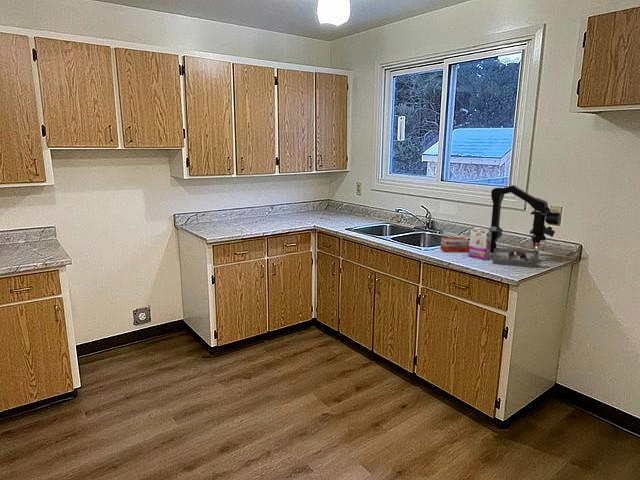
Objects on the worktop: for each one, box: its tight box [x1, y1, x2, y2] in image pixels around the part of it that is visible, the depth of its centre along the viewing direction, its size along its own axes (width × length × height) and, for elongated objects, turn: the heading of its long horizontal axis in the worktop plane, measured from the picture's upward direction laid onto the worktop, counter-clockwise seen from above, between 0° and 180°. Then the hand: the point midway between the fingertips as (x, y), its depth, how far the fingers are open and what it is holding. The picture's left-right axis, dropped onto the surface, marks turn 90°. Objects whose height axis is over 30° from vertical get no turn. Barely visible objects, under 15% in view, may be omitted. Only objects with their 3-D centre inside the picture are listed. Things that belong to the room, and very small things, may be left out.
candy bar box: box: [468, 228, 492, 261], centre depth 246 cm, size 11×5×16 cm, turn 40°
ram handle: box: [531, 242, 541, 261], centre depth 240 cm, size 3×3×10 cm
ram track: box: [529, 255, 541, 264], centre depth 243 cm, size 4×14×1 cm, turn 159°
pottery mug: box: [507, 248, 528, 261], centre depth 242 cm, size 12×10×8 cm
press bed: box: [492, 247, 539, 269], centre depth 233 cm, size 22×6×9 cm, turn 69°
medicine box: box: [440, 236, 470, 253], centre depth 263 cm, size 15×8×8 cm, turn 91°
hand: (535, 249), depth 243 cm, fingers closed
